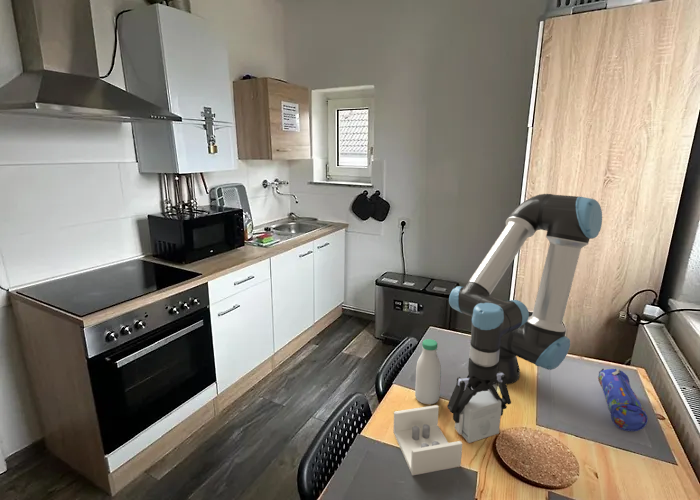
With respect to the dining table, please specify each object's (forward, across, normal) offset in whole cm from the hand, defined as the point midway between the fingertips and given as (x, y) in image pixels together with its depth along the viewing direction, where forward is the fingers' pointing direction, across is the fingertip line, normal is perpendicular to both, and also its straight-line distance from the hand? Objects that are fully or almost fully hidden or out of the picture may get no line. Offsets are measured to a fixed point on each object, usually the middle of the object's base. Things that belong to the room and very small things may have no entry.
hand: (477, 427), depth 108 cm
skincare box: (+1, 0, 0) cm, 1 cm away
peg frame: (+1, +17, +3) cm, 17 cm away
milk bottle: (+1, +8, -17) cm, 19 cm away
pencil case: (+1, -47, +1) cm, 47 cm away
